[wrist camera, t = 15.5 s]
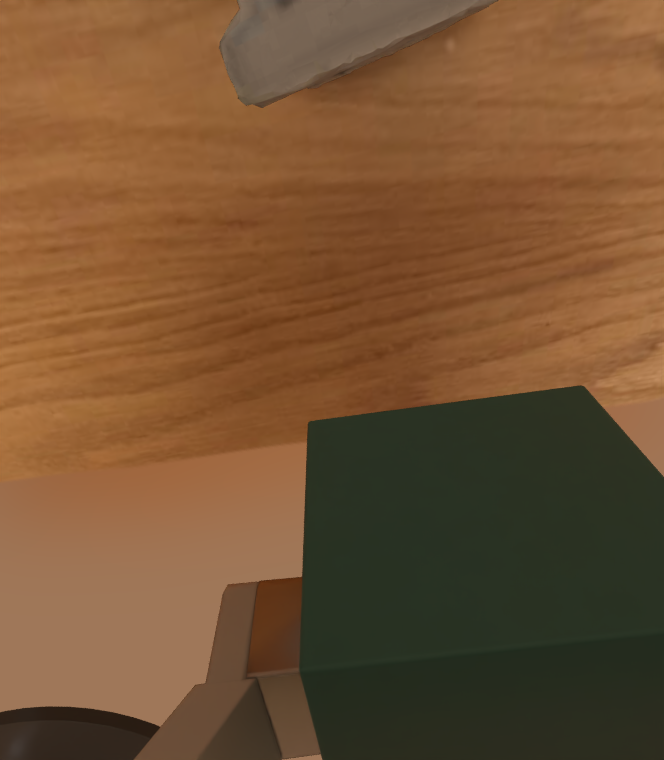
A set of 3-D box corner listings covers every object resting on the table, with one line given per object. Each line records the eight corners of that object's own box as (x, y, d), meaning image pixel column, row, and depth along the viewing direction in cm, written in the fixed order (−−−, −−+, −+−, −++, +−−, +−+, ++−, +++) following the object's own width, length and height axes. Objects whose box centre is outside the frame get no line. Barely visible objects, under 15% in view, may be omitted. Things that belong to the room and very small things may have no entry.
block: (343, 608, 11) (356, 892, 7) (307, 420, 9) (296, 671, 5) (569, 582, 11) (708, 859, 7) (583, 383, 9) (790, 617, 5)
